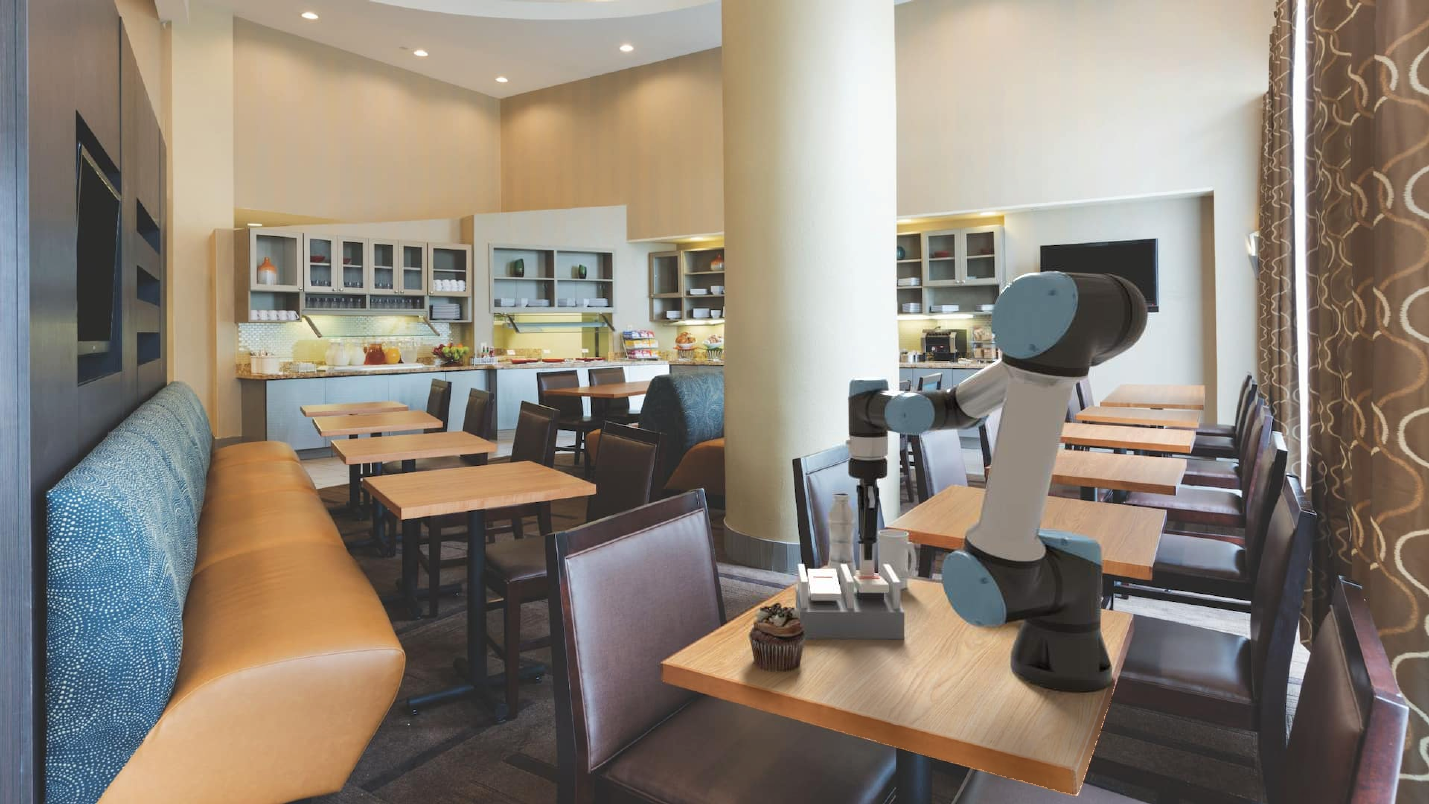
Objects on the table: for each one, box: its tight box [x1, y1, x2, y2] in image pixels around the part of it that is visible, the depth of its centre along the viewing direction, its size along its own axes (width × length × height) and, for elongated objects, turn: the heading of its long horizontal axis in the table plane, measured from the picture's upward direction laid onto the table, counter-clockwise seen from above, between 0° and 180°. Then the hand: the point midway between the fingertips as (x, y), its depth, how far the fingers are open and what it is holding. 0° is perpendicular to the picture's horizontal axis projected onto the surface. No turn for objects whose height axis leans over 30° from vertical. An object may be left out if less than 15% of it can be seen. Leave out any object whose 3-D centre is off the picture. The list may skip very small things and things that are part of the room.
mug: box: [877, 529, 917, 590], centre depth 172 cm, size 10×7×12 cm, turn 32°
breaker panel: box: [795, 563, 905, 640], centre depth 150 cm, size 16×19×10 cm
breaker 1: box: [807, 568, 841, 601], centre depth 150 cm, size 10×6×2 cm, turn 177°
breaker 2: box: [853, 575, 889, 593], centre depth 149 cm, size 10×6×2 cm, turn 177°
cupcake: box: [748, 602, 806, 673], centre depth 132 cm, size 10×10×10 cm
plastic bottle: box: [826, 492, 857, 582], centre depth 177 cm, size 6×7×20 cm
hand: (866, 574), depth 153 cm, fingers closed
